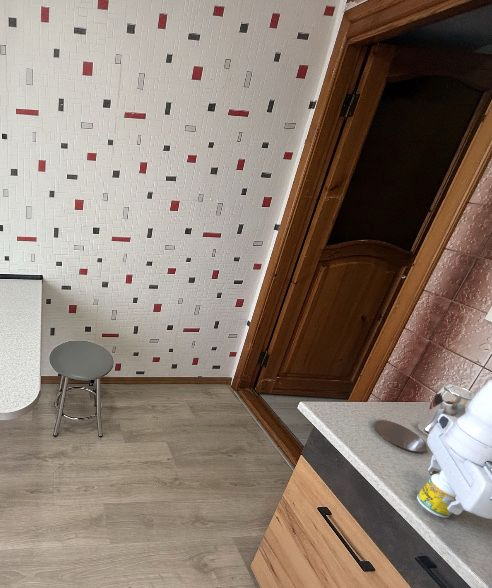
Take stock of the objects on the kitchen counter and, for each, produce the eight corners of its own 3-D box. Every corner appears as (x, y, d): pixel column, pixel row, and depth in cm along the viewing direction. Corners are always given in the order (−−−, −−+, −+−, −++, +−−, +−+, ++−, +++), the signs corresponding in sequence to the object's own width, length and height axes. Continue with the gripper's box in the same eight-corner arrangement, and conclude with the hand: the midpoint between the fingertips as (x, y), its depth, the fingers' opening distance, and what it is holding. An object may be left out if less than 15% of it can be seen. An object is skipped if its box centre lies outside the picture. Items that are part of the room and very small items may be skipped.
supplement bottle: (454, 523, 70) (480, 493, 66) (422, 511, 72) (446, 481, 68) (441, 501, 75) (465, 471, 71) (411, 490, 77) (433, 461, 73)
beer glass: (426, 438, 92) (455, 396, 86) (409, 420, 99) (435, 380, 92) (455, 445, 91) (487, 402, 85) (436, 426, 97) (465, 386, 91)
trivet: (417, 432, 94) (418, 430, 94) (432, 460, 85) (433, 458, 85) (369, 416, 99) (370, 414, 99) (379, 441, 90) (380, 439, 90)
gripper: (535, 496, 56) (487, 544, 62) (474, 420, 73) (441, 464, 79) (484, 478, 59) (442, 526, 64) (437, 409, 76) (407, 452, 81)
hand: (441, 491), depth 72 cm, fingers open, 8 cm apart
